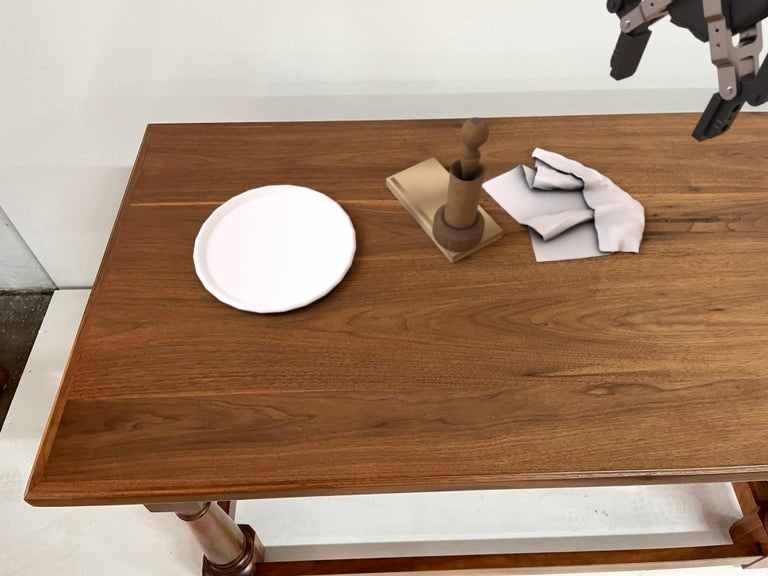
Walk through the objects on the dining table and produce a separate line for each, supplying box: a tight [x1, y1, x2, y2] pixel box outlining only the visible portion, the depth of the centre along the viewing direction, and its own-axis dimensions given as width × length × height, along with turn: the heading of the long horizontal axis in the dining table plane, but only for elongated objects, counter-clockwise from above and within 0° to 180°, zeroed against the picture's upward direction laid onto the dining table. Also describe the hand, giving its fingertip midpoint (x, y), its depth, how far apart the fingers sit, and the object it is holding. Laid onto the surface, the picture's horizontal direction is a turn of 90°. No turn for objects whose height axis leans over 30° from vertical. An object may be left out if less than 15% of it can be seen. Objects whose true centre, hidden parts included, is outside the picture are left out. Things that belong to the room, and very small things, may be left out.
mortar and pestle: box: [432, 116, 490, 252], centre depth 70 cm, size 7×6×18 cm
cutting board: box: [385, 156, 504, 264], centre depth 81 cm, size 16×8×2 cm, turn 32°
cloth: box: [482, 147, 646, 263], centre depth 81 cm, size 20×22×2 cm
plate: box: [193, 184, 357, 314], centre depth 78 cm, size 21×21×1 cm
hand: (660, 105), depth 46 cm, fingers open, 8 cm apart
